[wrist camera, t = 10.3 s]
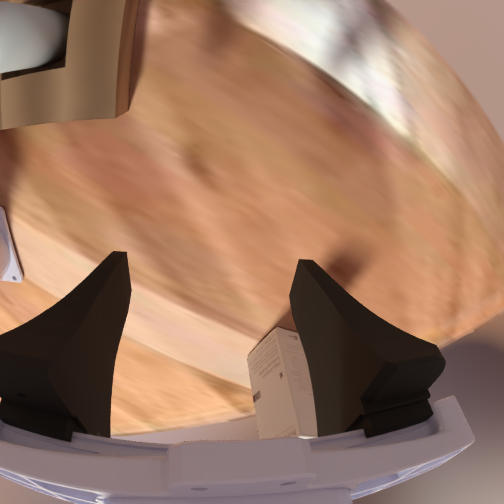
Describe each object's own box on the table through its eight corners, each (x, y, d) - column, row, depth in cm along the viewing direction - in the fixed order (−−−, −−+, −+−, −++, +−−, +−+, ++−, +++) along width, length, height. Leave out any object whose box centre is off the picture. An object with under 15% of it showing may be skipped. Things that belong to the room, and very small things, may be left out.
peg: (29, 72, 14) (-34, 87, 8) (27, 23, 11) (-36, 21, 6) (77, 57, 14) (19, 61, 8) (75, 4, 12) (20, -12, 6)
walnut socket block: (-7, 125, 15) (-29, 135, 13) (3, -15, 9) (-18, -19, 6) (128, 110, 17) (115, 118, 15) (149, -50, 11) (140, -65, 8)
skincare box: (274, 324, 30) (300, 435, 20) (309, 334, 32) (340, 435, 22) (244, 358, 33) (258, 459, 23) (277, 366, 35) (297, 460, 25)
